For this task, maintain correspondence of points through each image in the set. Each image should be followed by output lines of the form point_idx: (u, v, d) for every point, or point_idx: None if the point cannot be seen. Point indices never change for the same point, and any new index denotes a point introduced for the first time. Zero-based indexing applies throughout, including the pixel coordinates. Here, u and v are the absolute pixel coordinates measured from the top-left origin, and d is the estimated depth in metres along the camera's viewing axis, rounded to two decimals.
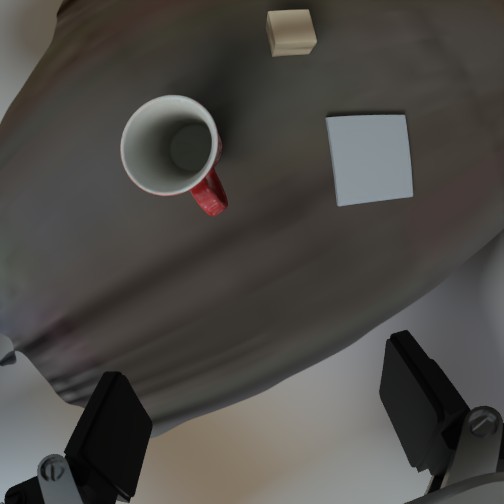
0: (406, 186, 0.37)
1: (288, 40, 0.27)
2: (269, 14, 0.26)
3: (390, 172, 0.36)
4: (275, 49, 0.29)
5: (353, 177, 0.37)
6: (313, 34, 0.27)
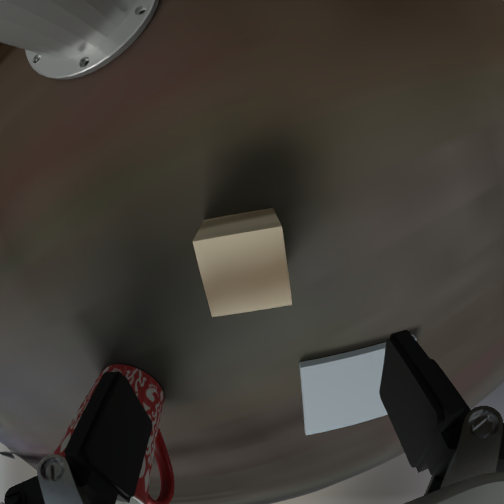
0: None
1: (236, 308, 0.18)
2: (196, 248, 0.16)
3: (376, 400, 0.27)
4: None
5: (327, 414, 0.28)
6: (286, 290, 0.17)
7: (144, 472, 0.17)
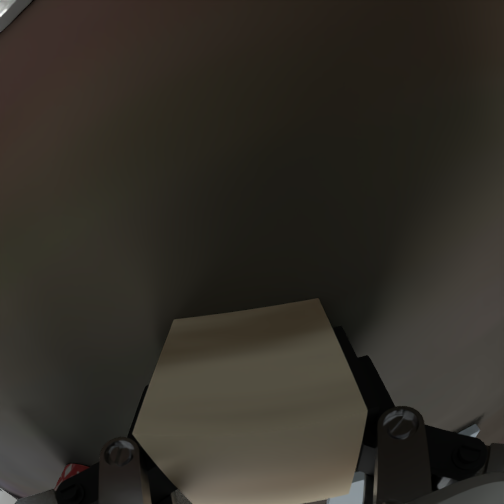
0: None
1: None
2: None
3: None
4: None
5: None
6: (344, 485, 0.06)
7: None
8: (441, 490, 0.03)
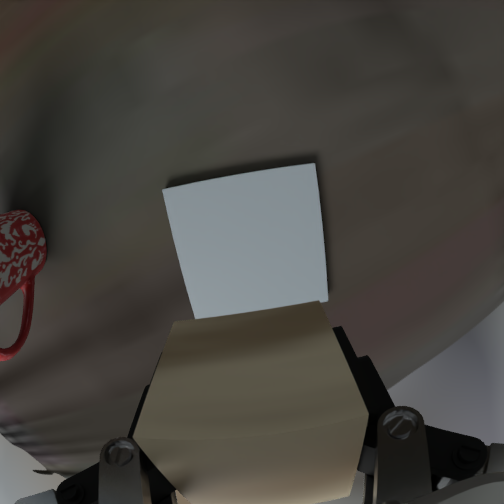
0: (315, 287, 0.25)
1: None
2: (145, 445, 0.05)
3: (283, 269, 0.24)
4: None
5: (214, 282, 0.25)
6: (345, 487, 0.06)
7: None
8: (441, 490, 0.03)
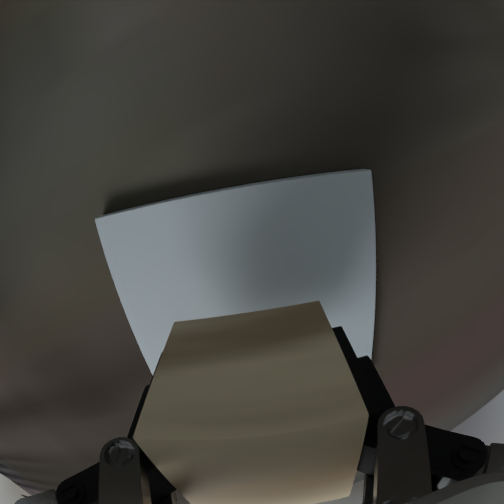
0: None
1: None
2: (145, 445, 0.05)
3: None
4: None
5: None
6: (345, 488, 0.06)
7: None
8: (441, 490, 0.03)
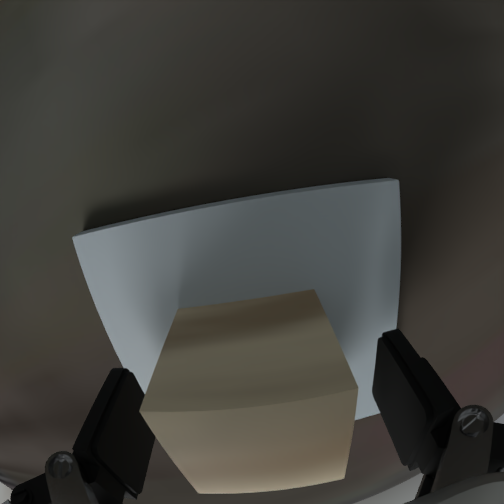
0: (366, 399, 0.12)
1: (242, 489, 0.07)
2: (150, 419, 0.06)
3: None
4: None
5: None
6: (339, 468, 0.07)
7: None
8: (441, 490, 0.03)
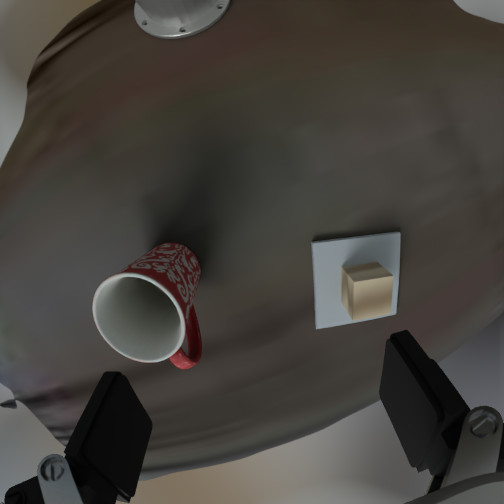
0: None
1: (365, 316, 0.32)
2: (354, 285, 0.31)
3: None
4: None
5: (334, 302, 0.37)
6: (389, 306, 0.32)
7: (187, 302, 0.26)
8: (441, 490, 0.03)
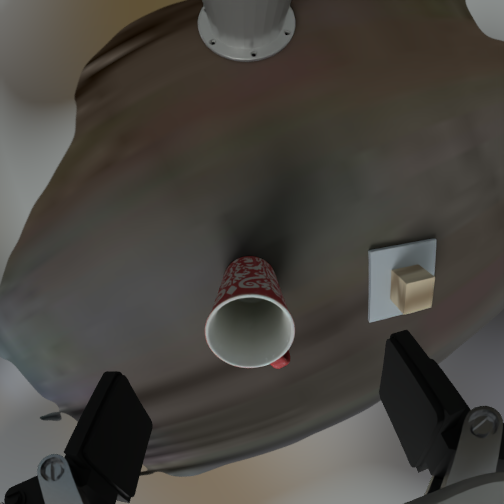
0: None
1: (413, 310, 0.37)
2: (406, 286, 0.36)
3: None
4: (398, 307, 0.39)
5: (384, 299, 0.42)
6: (431, 301, 0.36)
7: None
8: (441, 490, 0.03)
